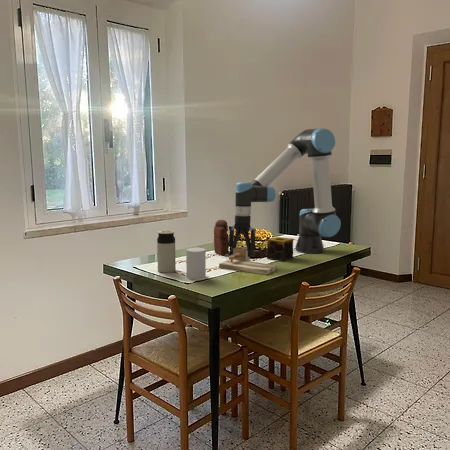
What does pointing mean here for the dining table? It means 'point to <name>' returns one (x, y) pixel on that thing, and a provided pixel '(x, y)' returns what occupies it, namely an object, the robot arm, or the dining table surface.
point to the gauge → (238, 254)
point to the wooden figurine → (221, 238)
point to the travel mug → (166, 251)
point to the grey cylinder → (196, 263)
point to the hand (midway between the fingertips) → (241, 262)
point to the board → (248, 266)
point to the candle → (279, 248)
